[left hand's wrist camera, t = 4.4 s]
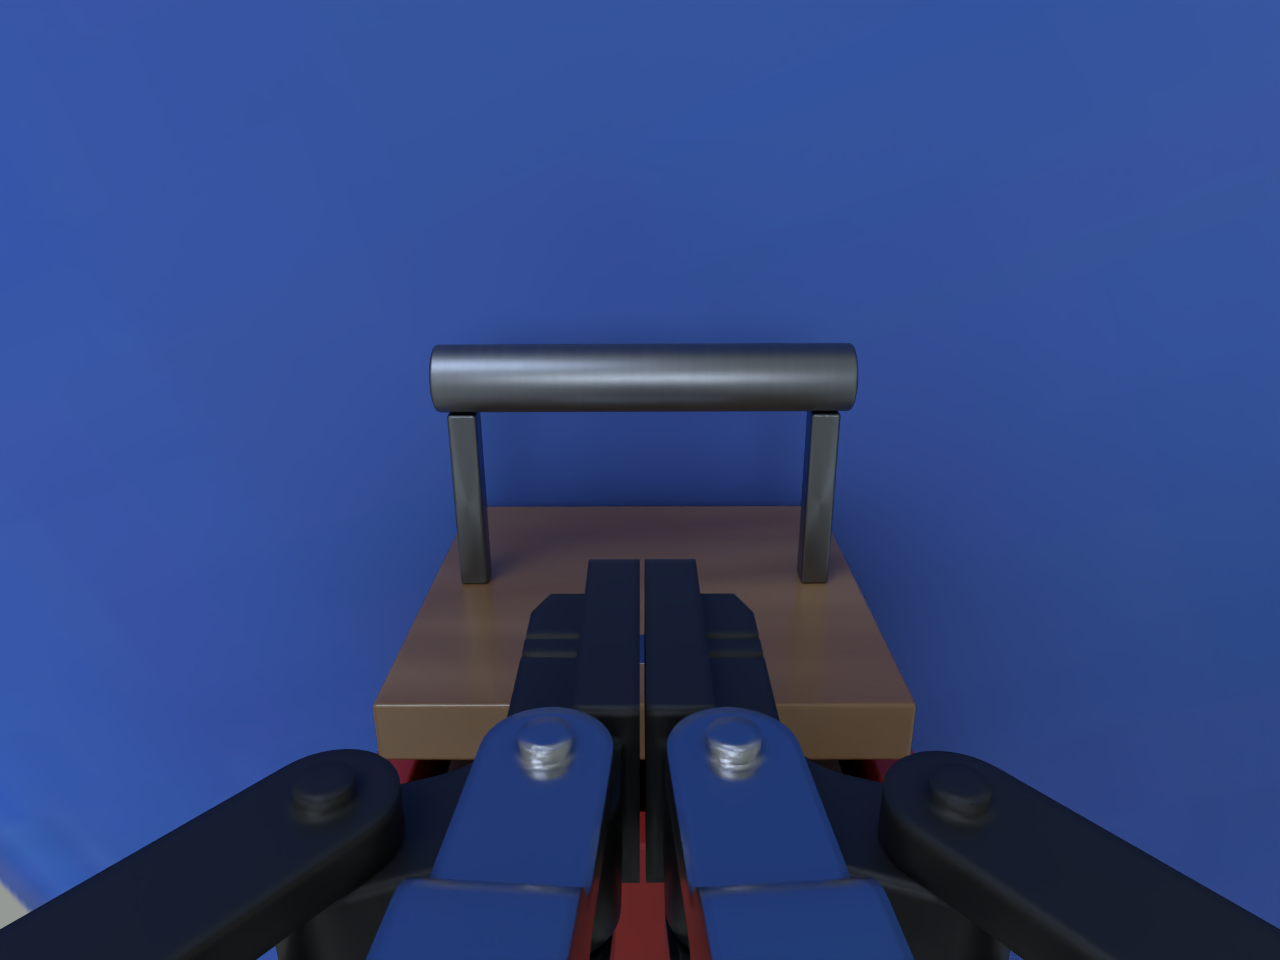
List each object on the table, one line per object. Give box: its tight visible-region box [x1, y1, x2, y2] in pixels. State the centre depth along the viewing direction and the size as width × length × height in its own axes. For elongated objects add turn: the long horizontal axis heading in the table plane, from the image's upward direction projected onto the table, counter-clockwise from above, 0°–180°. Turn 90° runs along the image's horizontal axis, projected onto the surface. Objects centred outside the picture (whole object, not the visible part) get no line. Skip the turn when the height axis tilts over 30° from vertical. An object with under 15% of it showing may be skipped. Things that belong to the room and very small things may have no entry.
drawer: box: [373, 343, 916, 811], centre depth 21 cm, size 22×10×9 cm, turn 0°
